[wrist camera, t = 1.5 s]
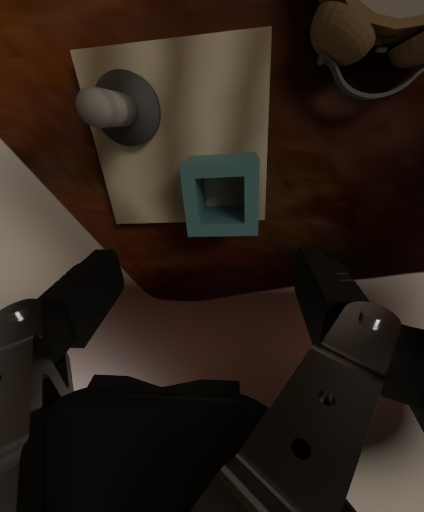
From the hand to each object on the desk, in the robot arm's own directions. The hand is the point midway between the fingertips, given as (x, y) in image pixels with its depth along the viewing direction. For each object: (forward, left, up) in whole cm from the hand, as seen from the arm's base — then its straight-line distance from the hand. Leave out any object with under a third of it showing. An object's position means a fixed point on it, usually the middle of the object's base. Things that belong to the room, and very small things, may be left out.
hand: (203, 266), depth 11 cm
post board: (+4, -4, -17) cm, 17 cm away
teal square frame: (0, 0, -15) cm, 15 cm away
